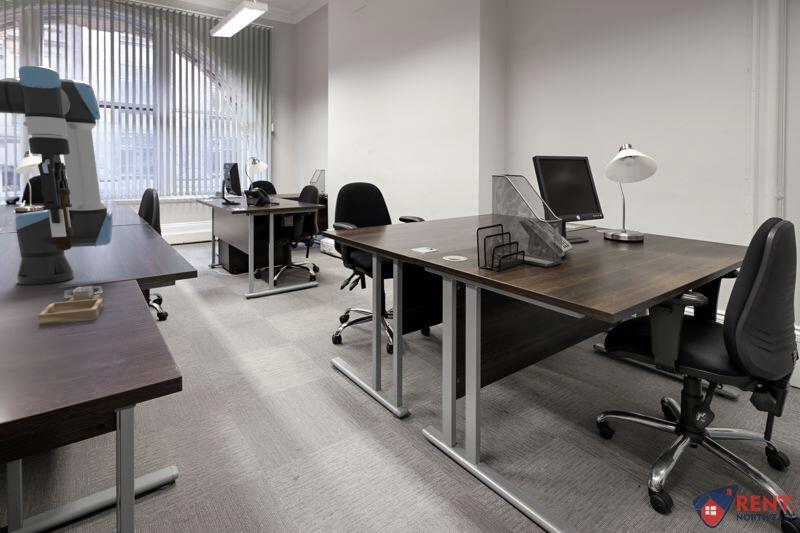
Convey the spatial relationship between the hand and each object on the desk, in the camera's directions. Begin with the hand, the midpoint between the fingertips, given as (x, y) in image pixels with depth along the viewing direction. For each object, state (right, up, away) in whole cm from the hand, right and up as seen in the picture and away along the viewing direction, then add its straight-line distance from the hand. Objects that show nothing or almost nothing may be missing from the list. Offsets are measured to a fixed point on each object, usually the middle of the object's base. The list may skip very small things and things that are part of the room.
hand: (62, 234), depth 113 cm
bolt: (0, -4, +1) cm, 4 cm away
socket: (-2, -19, +9) cm, 22 cm away
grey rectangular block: (-6, -18, +16) cm, 25 cm away
